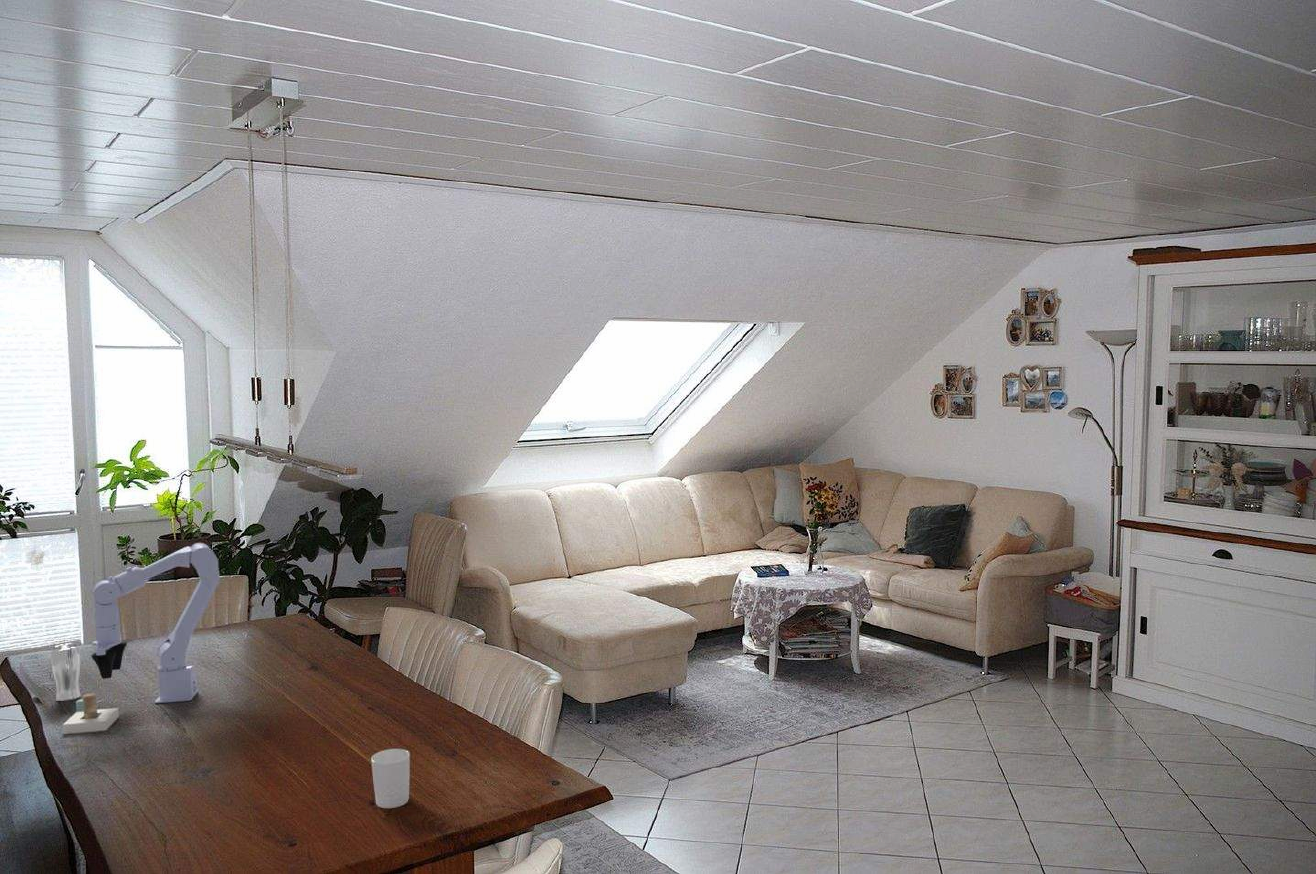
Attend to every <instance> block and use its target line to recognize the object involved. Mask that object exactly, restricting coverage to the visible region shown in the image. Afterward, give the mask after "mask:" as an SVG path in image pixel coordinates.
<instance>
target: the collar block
mask: <svg viewBox="0 0 1316 874" xmlns="http://www.w3.org/2000/svg"><path fill="white" fill-rule="evenodd" d="M119 717H120V713H119V707H113V708H102V709H97V718H93V719H84V711H77V710H76V712H75V713H74V714H73V715H72V716H71V717H70V718H68V719H67V720H66V721H65V722H64V723H62V732H63V733H62V734H63V735H69V734H70V733H71V734H79V733H80V734H81V733H93V732H104V731H107V730H108V729H109V728H110V727H111V726H112V725H113V724H114V723H115V722H116V721H117V719H119Z"/></svg>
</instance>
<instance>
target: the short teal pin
mask: <svg viewBox="0 0 1316 874" xmlns="http://www.w3.org/2000/svg"><path fill="white" fill-rule="evenodd" d="M75 708H76V709H75V710H76V712H77V711H84V709H83V698H81V699H77V700H76V701H75Z"/></svg>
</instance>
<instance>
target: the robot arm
mask: <svg viewBox="0 0 1316 874" xmlns="http://www.w3.org/2000/svg"><path fill="white" fill-rule="evenodd" d="M190 564H192V565H191V566H193V567H194V569H195V570H196V572H197V574H198V577H199V581H198V583H197V585H196V587H195V589H194V591H193V593H192V594H191V597H190V598H189V599H188V602H187V604H186V606H185V608H184V610H183V612H182V614H181V615H180V616H179V619H178V621H177V623H176V624H175V627H174V629H173V630H172V631H171V633H169V635H168V636H167V638H166V639H165V641H163V642H162V643H160V645H159V646H158V648H157V656H158V658H159V661H160V664H159V665H158V666H157V676H158V677H157V678H158V680H157V681H158V691H159V692H158V693H159V696H158V698H157V699H155V701H154V703H155V704H162V703H164V704H166V703H174V702H175V703H176V702H187V701H189V702H190V701H192V700H193V699H194V697H196V695H197V693H199V690H198V681H197V668H196V666H195V665H187V663H186V661H185V660H186V653H187V650H188V648H189V643H190V640H191V637H192V635H193V634H194V631H195V630H196V628H197V625H198V624H199V622H200V620H201V618H202V616H203V614H204V613H205V610H206V609H207V606H208V604H209V603H210V600H211V599H212V597H213V596H214V593H215V591H216V589H217V587H218V586H219V584H220V581H221V577H220V576H221V575H220V569H219V559H218V558H217V556H216V554H215V553H214V551H213V550H212V549H211V548H210V547H209V545H208V544H206V543H204V542H196V543H194V544H192V545H191V546H185V547H183V548H180V549H179V550H175V552H172V553H170V554H169V555H167V556H165V557H162V558H160V559H159V560H156V561H155V562H153V563H151V564H149V565H147V566H144V567H138V566H134V567H131V566H129V567H127V568H125V571H124V572H121V573H119V574H117V575H114V576H112V575H110V576H109V577H107V580H101V581H99V582H96V584H95V585H94V586H93V590H92V595H93V598H94V601H95V602H94V607H95V608H94V619H95V632H96V633H95V634H96V640H95V641H93V642H92V643H91V644H92V646H96V649H95V650H96V652H93V653H92V654H91V659H92V660H93V662H95V664H96V665H97V666H96V667H97V668H98V670H99V674H100V677H101V679H105V680H106V679H111V678H112V676H113V671H117V670H118V671H119V670H121V668H122V661H123V655H124V651H125V650H126V647H127V645H128V642H127V641H123V639H122V633H121V622H120V610H119V605H118V598H119V597H123V596H125V595H127V594H129V593H131V592H133V591H136V590H139V589H140V588H142V587H144V586H146V584H147V583H148V580H149V579H151V578H154V577H155V576H158V575H160V574H163V573H165V572H167V571H169V570H173V569H174V568H177V567H181V568H182V567H183V568H190Z"/></svg>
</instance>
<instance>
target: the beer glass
mask: <svg viewBox="0 0 1316 874" xmlns="http://www.w3.org/2000/svg"><path fill="white" fill-rule="evenodd" d="M50 650H51V652H50V653H51V654H50V655H51V656H50V657H51V658H50V659H51V668H52V674H53V677H54V681H55V686H56V696H55V701H56V702H58V701H66V702H70V700H71V701H75V700H78V699H79V698H81V696H82V695H81V691H80V687H79V678H80V677H79V676H80V669H81V668H80V667H81V655H80V649H79V644H78V643H74V642H72V643H63V644H58V645H54V646H53V647H51V649H50ZM77 698H78V699H77Z"/></svg>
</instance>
